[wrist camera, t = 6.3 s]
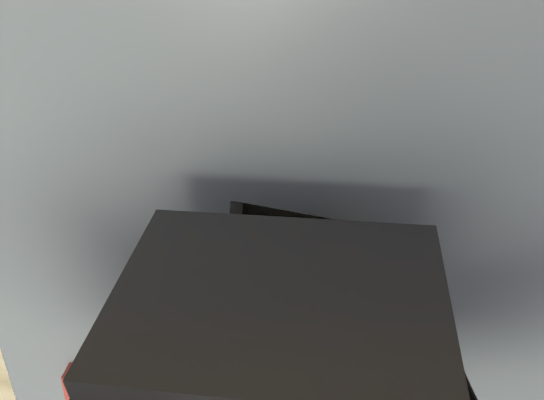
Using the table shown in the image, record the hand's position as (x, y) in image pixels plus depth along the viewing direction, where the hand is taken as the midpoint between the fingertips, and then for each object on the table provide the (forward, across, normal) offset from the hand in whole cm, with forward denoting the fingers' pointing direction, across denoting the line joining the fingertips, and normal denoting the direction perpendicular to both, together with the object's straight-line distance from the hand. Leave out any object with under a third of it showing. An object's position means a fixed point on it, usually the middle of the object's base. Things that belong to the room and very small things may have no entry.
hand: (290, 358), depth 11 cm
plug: (+2, 0, 0) cm, 2 cm away
